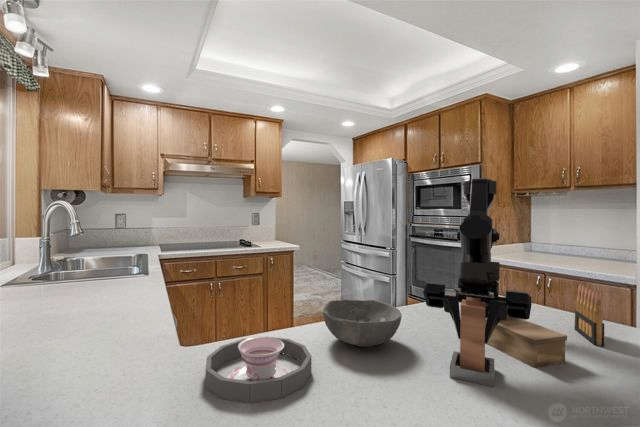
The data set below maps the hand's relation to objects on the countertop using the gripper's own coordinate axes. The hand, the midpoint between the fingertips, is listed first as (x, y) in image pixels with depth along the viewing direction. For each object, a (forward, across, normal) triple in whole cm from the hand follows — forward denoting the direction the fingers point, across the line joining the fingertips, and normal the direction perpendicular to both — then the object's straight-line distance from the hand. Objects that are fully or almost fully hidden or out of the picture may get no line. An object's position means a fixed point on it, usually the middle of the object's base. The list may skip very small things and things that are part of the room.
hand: (472, 340), depth 60 cm
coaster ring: (+17, -35, -7) cm, 39 cm away
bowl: (+1, -23, +9) cm, 25 cm away
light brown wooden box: (-7, +9, +16) cm, 20 cm away
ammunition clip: (-19, +24, +29) cm, 42 cm away
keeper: (+4, 0, +6) cm, 7 cm away
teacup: (+18, -34, -8) cm, 39 cm away
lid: (-10, +9, +13) cm, 19 cm away
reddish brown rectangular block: (+4, 0, +6) cm, 7 cm away
